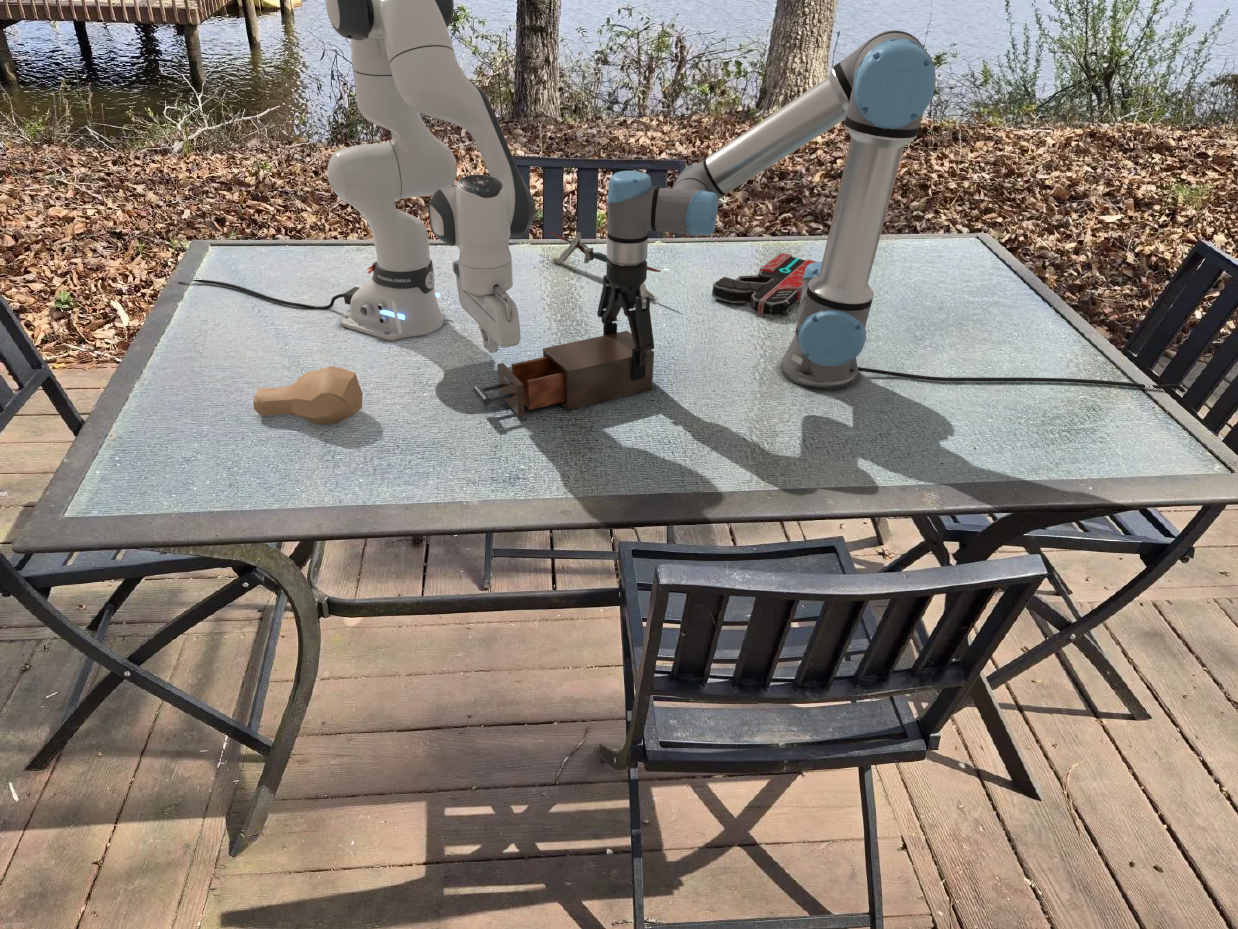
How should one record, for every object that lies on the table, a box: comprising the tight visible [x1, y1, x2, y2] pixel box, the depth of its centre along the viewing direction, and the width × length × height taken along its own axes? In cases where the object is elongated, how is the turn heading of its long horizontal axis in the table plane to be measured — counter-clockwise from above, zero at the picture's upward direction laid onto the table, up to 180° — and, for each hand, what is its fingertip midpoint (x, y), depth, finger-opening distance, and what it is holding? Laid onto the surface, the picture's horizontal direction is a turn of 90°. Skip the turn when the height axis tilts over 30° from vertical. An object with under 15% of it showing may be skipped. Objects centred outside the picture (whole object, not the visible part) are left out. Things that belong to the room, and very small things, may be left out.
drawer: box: [472, 356, 566, 417], centre depth 165 cm, size 24×10×6 cm, turn 119°
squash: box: [252, 365, 363, 426], centre depth 159 cm, size 11×20×9 cm, turn 90°
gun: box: [711, 252, 817, 318], centre depth 215 cm, size 4×31×19 cm
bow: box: [546, 230, 662, 300], centre depth 217 cm, size 39×2×10 cm, turn 47°
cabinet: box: [542, 330, 655, 411], centre depth 171 cm, size 19×11×8 cm, turn 119°
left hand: (491, 349), depth 157 cm, fingers closed
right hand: (623, 365), depth 174 cm, fingers open, 11 cm apart
